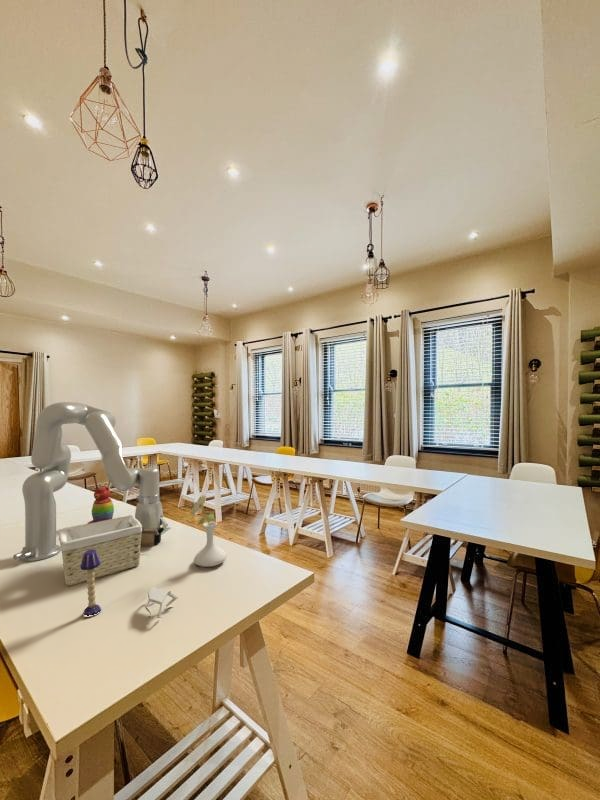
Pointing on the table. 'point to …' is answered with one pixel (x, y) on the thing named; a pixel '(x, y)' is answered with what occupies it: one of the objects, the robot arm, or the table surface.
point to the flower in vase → (208, 540)
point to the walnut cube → (148, 538)
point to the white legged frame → (159, 598)
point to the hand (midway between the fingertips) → (149, 543)
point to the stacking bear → (102, 505)
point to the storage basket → (100, 547)
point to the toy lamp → (91, 580)
